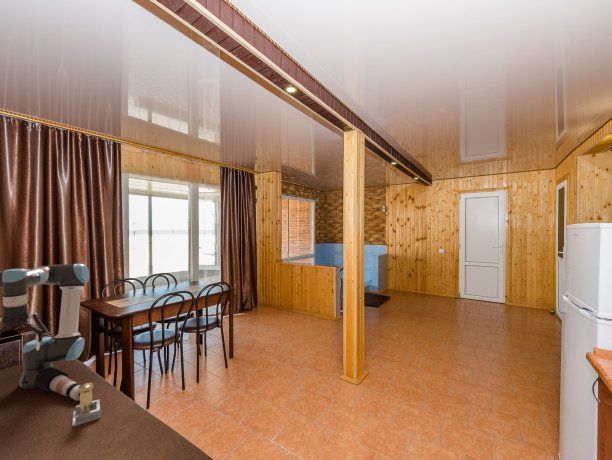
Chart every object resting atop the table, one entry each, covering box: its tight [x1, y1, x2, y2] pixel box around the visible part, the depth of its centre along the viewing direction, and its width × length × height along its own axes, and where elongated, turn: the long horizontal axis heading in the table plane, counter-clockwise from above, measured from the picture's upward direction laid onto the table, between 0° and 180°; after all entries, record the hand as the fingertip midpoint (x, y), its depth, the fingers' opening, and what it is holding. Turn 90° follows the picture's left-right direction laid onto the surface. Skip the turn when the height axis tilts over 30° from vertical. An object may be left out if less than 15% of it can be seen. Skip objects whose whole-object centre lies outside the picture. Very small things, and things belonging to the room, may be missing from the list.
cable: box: [35, 366, 82, 401], centre depth 153 cm, size 10×34×10 cm, turn 69°
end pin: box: [78, 382, 94, 414], centre depth 136 cm, size 6×6×13 cm
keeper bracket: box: [71, 399, 101, 427], centre depth 136 cm, size 11×10×4 cm
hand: (16, 353), depth 129 cm, fingers open, 13 cm apart
